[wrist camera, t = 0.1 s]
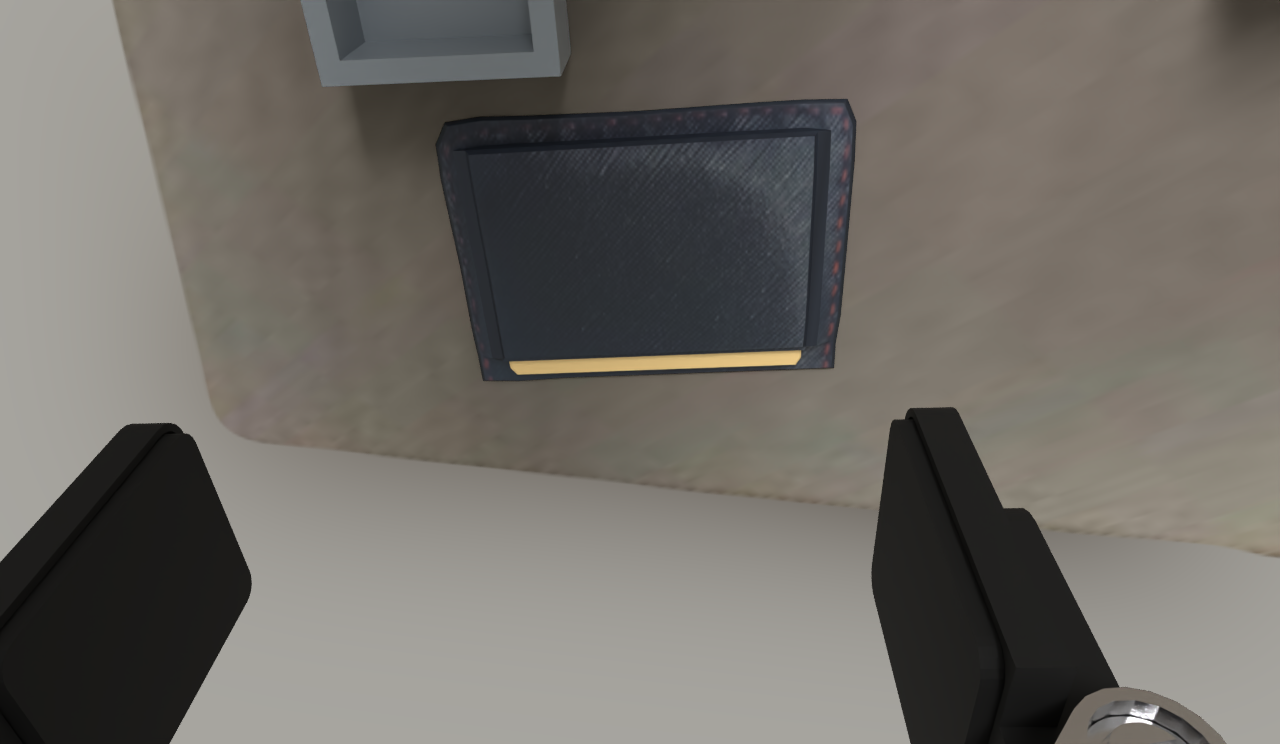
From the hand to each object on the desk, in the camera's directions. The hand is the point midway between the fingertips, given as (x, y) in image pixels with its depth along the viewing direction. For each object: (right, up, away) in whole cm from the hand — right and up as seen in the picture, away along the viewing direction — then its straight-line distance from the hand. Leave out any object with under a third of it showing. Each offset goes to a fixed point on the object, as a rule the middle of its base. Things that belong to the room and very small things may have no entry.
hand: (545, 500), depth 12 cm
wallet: (+2, +8, +33) cm, 34 cm away
